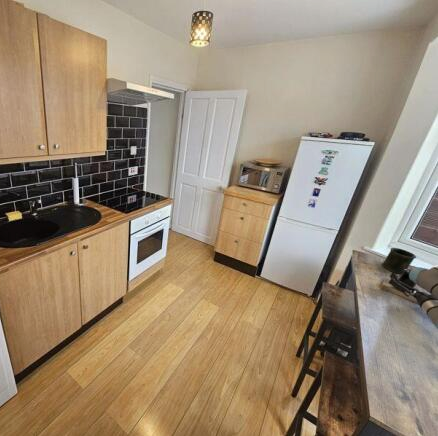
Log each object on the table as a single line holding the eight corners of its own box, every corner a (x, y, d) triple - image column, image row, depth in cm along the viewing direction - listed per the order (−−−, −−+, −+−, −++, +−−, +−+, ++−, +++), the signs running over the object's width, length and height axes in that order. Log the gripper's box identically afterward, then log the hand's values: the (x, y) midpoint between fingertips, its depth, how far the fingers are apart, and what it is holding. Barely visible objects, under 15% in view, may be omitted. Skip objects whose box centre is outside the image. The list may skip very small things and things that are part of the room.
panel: (419, 297, 118) (422, 292, 116) (418, 305, 112) (421, 300, 110) (383, 282, 127) (385, 277, 126) (380, 289, 121) (383, 284, 120)
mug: (380, 268, 140) (391, 251, 135) (380, 259, 150) (390, 244, 145) (405, 277, 134) (417, 260, 129) (404, 267, 143) (414, 251, 139)
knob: (393, 283, 122) (403, 267, 118) (408, 287, 119) (419, 271, 115) (396, 289, 117) (407, 272, 113) (412, 294, 114) (424, 277, 110)
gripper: (391, 301, 104) (374, 276, 122) (469, 325, 95) (438, 294, 112) (400, 288, 101) (381, 265, 119) (481, 312, 92) (448, 282, 109)
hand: (409, 279), depth 116 cm, fingers open, 13 cm apart
